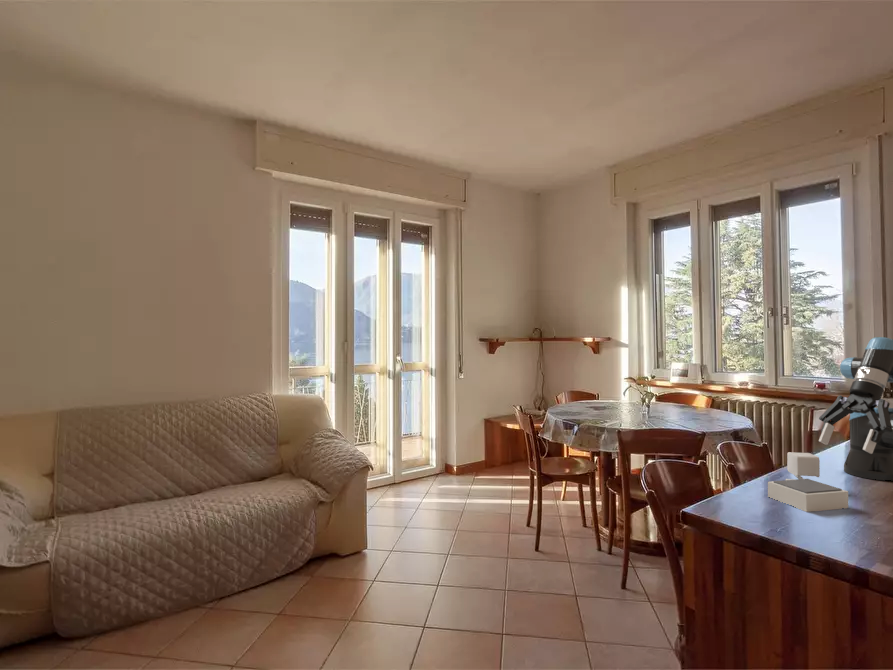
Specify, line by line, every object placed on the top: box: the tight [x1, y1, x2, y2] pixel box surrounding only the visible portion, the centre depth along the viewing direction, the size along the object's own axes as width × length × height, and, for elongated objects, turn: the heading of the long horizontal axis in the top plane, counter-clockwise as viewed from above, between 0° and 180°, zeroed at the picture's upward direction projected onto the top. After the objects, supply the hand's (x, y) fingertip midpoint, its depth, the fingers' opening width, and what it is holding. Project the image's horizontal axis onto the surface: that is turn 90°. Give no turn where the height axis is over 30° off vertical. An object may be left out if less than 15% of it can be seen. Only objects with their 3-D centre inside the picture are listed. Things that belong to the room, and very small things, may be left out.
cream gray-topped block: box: [767, 478, 849, 513], centre depth 135 cm, size 14×12×5 cm
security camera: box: [785, 451, 821, 480], centre depth 150 cm, size 6×7×10 cm
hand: (844, 447), depth 144 cm, fingers open, 13 cm apart
